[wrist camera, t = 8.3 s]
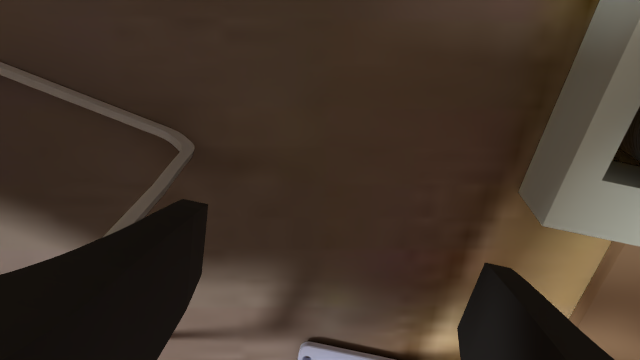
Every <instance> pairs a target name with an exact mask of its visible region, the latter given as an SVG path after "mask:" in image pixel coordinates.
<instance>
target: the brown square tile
mask: <svg viewBox="0 0 640 360" xmlns="http://www.w3.org/2000/svg"><path fill="white" fill-rule="evenodd" d="M569 320H570V321H571V322H572V323H573V324H574V325H575V326H576V327H578V328H579V329H580V330H581V331H582V332H583V333H584V334H585V335H587V336H588V337H589V338H590V339H591V340H592V341H593V342H595V343H596V344H597V345H598V346H599V347H600V348H601V349H603V350H604V351H605V352H606V353H607V354H609V355H610V356H611V357H612V358H613V359H615V360H640V247H639V246H635V245H630V244H625V243H620V242H616V241H612V243H611V245H610V247H609V248H608V250H607V252H606V254H605V256H604V257H603V259H602V261H601V263H600V264H599V266H598V268H597V270H596V272H595V273H594V275H593V277H592V279H591V281H590V282H589V284H588V286H587V288H586V290H585V291H584V293H583V295H582V297H581V299H580V300H579V302H578V304H577V306H576V308H575V309H574V311H573V313H572V315H571V317H570V318H569Z"/></svg>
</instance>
